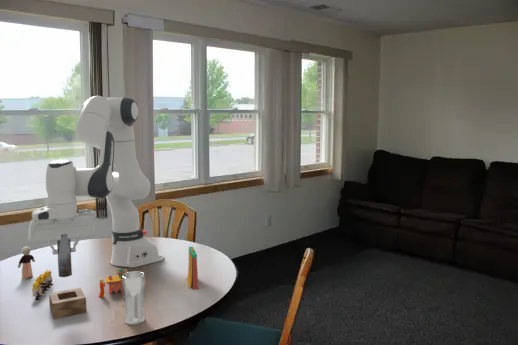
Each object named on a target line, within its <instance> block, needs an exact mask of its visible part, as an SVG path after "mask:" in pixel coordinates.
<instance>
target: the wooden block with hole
mask: <svg viewBox="0 0 518 345" xmlns="http://www.w3.org/2000/svg"><path fill="white" fill-rule="evenodd" d="M48 298H49V302H48V303H49V309H50V312H51V315H52V319H53V320H54V319H55V320H56V319H60V318H64V317H70V316H75V315H80V314H84V313H85V314H86V313H88V312H87V311H88V310H87V297H86V295H85V293H84V291H83V289H82V288H81V287H77V288H76V287H75V288H71V289H67V290H66V289H65V290H59V291H55V292H49V293H48Z"/></svg>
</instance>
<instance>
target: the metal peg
mask: <svg viewBox="0 0 518 345" xmlns="http://www.w3.org/2000/svg"><path fill="white" fill-rule="evenodd" d="M71 244H72V243H71V239H68V238H67V234H63V235H61V240H58V241H56V245H57V246H56V248H58V254H57V269H58V271H57V272H58V277H59V278H68V277H71V276H72V275H73V271H72V270H73V268H72V252H71V246H72V245H71Z"/></svg>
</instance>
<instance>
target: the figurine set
mask: <svg viewBox="0 0 518 345" xmlns="http://www.w3.org/2000/svg"><path fill="white" fill-rule="evenodd" d="M53 285H54V283H53V278H52V272H51V270H50V269H49V270H48V269H46V271H44V273H41V274H39V276H37V277H36V278H35V279H34V282H33V283H32V284H31V286H32V290H31V292H32V296H33V297H34V300H35V301H40V298H42V297H43V295H44V294H45V295H46V292H47V291H49V289H50V288H51V286H53Z"/></svg>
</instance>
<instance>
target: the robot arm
mask: <svg viewBox="0 0 518 345" xmlns="http://www.w3.org/2000/svg"><path fill="white" fill-rule="evenodd" d="M78 116H79V117H78V119H77V120H76V121H77V122H76V125H75V132H76V135H77V136H78V138H79V140H81V141H82V143H84V144H86V145H88V146H90V147H92V148H95V149H98V150H99V159H98V165H97V166H96V167H92V168H91V167H90V168H89V167H87V168H86V167H85V168H84V167H83V168H80V167H76V166H74V163H73V161H72V160H69V159H57V160H53V161H51V162H48V164H47V167H46V171H45V191H46V193H47V198H46V206H43V207H42V206H41V207H40V208H36V209H35V210H34V209H33V210H32V211H31V217H32V219H30V222H29V225H28V226H29V227H28V241H29V243H31V244H39V243H47V244H48V246H49V247H50V248H51V252H52V255H53V256H54V255H58V248H57V247H54V242H57V241H58V240H61V235H63V234H67V238H68V239H70V240H73V241H74V242H73V244H72V245H71V253H76V252H77V248H76V247H77V245H78V244H79V242H80V239H82V238H90V237H95V235H96V234H97V225H96V220H97V212H96V210H94V209H93V208H86V209H85V208H81V209H80V208H79V209H78V203H77V197H83V198H84V197H85V198H96V199H106V201H107V203H108V205H109V208H110V212H111V213H110V214H111V220H112V221H111V222H112V230H111V243H112V253H111V258H110V262H109V263H110V264H111V265H112V266H115V267H128V268H137V267H141V266H144V265H150V264H154V263H157V262H162V261H163V260H164V254H162V253H161V252H160V251H159V250H158V249H159V248H158V247H157V244H156V243H155V242H153V241H152V240H151V239H149V238H147V237H146V236H147V235H148V231H147V230H145V229H143V228H140V214H139V209H138V208H137V207H136V206H135V204H134V203H133V202H132V200H133V201H135V200H143V199H146V197H147V196H148V195H149V194H150V191H151V182H150V180H149V178H148V177H146V176H145V174H144V173H143V171H142V169H141V167H140V164H139V162H138V158H137V154H136V153H137V152H136V142H135V140H136V139H135V131H134V127H133V124H134V123H135V122H136V121H137V120H138V117H139V106H138V104H137V102H136V101H135V100H134V99H133V98H131V97H126V96H125V97H114V96H112V97H111V96H109V97H104V96H101V95H94V96H91V97H90V98H88V99H87V100H86V101H84V103H83V104H82V107H81V111H80V114H79V115H78ZM114 168H115V169H116V171H114Z"/></svg>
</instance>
